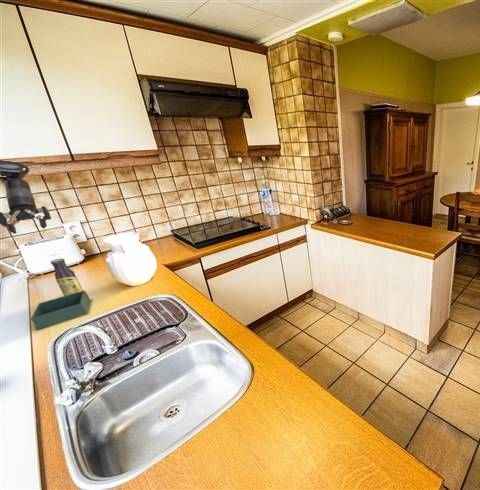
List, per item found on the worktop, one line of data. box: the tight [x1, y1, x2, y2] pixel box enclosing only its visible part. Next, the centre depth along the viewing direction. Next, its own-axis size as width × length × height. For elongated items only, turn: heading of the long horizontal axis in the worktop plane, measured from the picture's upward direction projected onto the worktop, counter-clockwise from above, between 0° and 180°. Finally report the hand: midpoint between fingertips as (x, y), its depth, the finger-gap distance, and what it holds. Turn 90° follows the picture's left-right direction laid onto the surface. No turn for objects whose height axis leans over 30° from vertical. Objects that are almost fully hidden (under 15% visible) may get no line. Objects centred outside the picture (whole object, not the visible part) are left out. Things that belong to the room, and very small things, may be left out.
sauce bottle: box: [50, 257, 84, 296], centre depth 122 cm, size 6×6×20 cm
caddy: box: [30, 289, 91, 331], centre depth 113 cm, size 14×14×5 cm
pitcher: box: [102, 231, 158, 287], centre depth 133 cm, size 19×18×25 cm
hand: (28, 229), depth 116 cm, fingers open, 8 cm apart
